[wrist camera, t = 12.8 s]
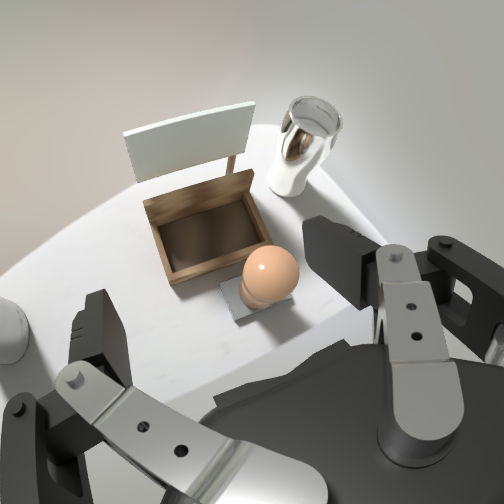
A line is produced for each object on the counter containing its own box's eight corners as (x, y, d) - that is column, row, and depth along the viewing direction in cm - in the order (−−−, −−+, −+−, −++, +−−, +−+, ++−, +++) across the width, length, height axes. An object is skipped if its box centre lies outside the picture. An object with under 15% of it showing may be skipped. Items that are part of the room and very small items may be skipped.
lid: (137, 183, 36) (124, 136, 28) (136, 179, 36) (123, 132, 28) (244, 152, 40) (255, 104, 32) (242, 149, 40) (253, 100, 32)
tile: (233, 320, 40) (234, 320, 39) (219, 284, 41) (219, 283, 40) (290, 298, 42) (292, 297, 41) (275, 264, 43) (277, 262, 42)
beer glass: (307, 166, 49) (342, 102, 35) (307, 204, 47) (347, 143, 33) (264, 158, 49) (287, 89, 35) (261, 196, 46) (286, 130, 32)
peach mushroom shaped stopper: (246, 319, 39) (258, 308, 31) (228, 278, 40) (235, 256, 32) (286, 302, 41) (308, 286, 32) (268, 263, 42) (285, 238, 34)
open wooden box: (170, 285, 40) (159, 258, 29) (142, 198, 43) (128, 150, 32) (269, 251, 44) (292, 214, 33) (233, 171, 47) (244, 120, 36)
